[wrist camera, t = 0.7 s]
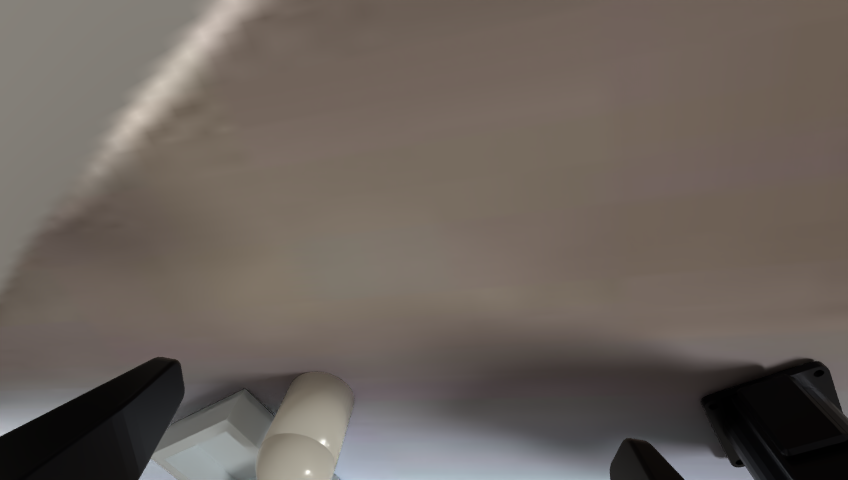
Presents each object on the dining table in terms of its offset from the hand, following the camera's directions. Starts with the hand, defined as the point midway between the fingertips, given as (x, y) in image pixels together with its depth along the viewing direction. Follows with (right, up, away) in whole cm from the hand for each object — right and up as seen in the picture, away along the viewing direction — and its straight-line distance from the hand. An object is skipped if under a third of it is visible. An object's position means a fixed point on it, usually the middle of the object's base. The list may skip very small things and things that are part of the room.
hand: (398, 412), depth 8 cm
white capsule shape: (-6, -7, +19) cm, 21 cm away
